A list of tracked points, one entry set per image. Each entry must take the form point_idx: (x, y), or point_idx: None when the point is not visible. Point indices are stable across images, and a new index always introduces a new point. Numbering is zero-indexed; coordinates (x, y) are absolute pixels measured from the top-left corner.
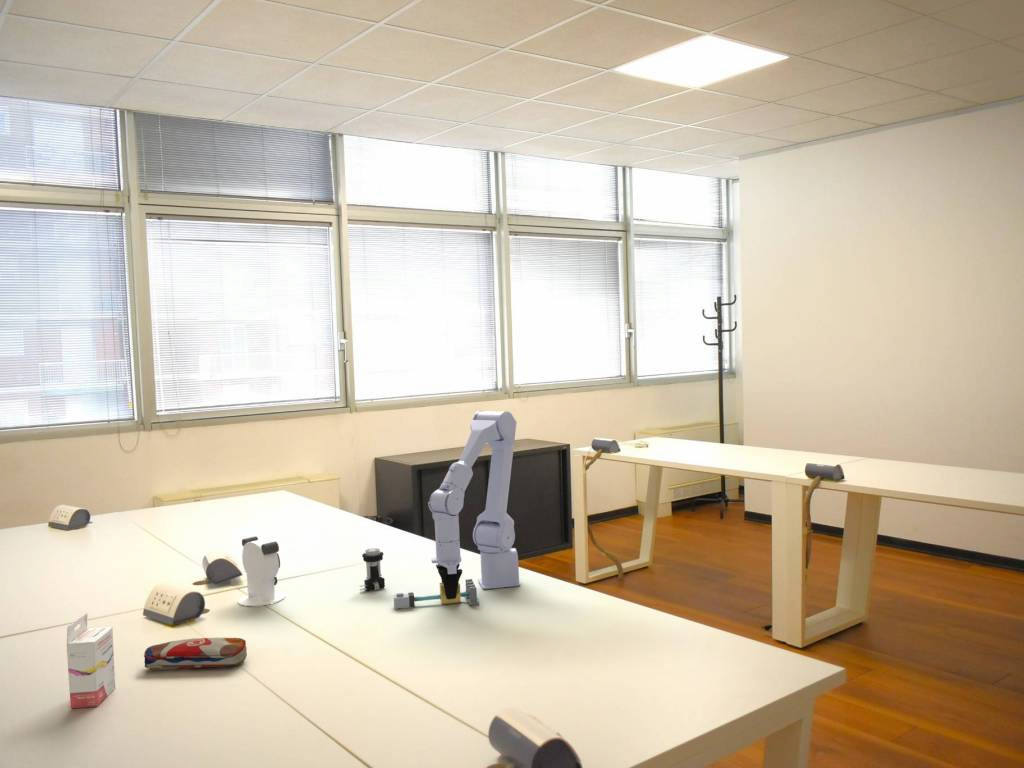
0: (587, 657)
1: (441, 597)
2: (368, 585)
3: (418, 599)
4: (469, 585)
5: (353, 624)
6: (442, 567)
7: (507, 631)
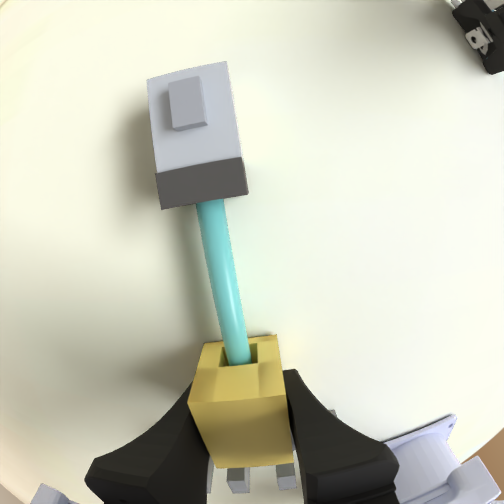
0: (3, 460)
1: (202, 361)
2: (461, 5)
3: (201, 230)
4: (230, 483)
5: (46, 18)
6: (306, 493)
7: (28, 436)
